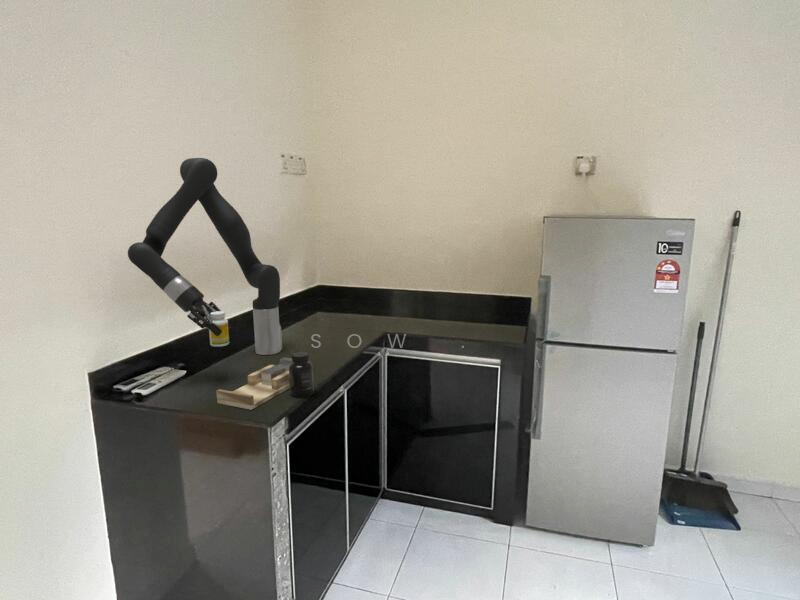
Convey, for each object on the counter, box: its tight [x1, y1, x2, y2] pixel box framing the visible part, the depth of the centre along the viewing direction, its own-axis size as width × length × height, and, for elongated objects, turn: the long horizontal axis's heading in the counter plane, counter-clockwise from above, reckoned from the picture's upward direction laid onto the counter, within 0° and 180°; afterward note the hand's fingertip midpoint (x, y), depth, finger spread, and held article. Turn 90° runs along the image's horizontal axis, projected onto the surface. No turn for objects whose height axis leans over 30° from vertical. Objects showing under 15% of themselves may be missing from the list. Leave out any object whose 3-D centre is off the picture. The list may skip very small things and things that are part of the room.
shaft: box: [261, 357, 293, 386], centre depth 149 cm, size 12×5×5 cm, turn 157°
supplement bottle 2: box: [289, 351, 315, 399], centre depth 140 cm, size 7×7×12 cm
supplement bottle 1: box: [208, 310, 230, 348], centre depth 149 cm, size 6×6×10 cm
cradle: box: [215, 364, 290, 411], centre depth 142 cm, size 23×12×4 cm, turn 157°
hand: (224, 331), depth 149 cm, fingers closed on supplement bottle 1, 5 cm apart
